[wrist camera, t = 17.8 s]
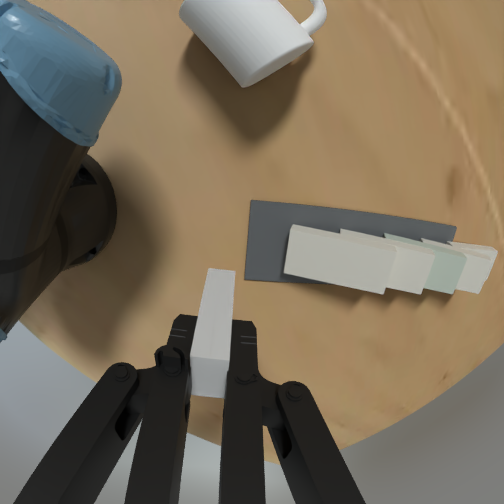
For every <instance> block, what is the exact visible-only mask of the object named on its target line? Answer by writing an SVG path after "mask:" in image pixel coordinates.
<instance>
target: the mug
mask: <svg viewBox="0 0 504 504" xmlns="http://www.w3.org/2000/svg"><path fill="white" fill-rule="evenodd" d="M310 1H311V3H312V4H313V6H314V11H313V13H312V15H311V16H310V17H309V18H308V19H306V20H305V21H304V22H302V23H301V24H299V23H298V22H297V21H296V20H295V19H294V18H293V16H292V15H291V14H290V13H289V12H288V11H287V10H286V9H285V8H284V7H283V6H282V5H281V4H280V2H279V1H278V0H184V1H183V3H182V5H181V7H180V10H179V16H180V19H181V20H182V21H183V22H184V23H185V24H186V25H187V26H188V27H189V28H190V29H191V30H192V31H193V32H194V33H195V34H196V35H197V36H198V38H199V39H200V40H201V41H202V42H203V43H204V44H205V45H206V46H207V47H208V48H209V50H210V51H211V52H212V53H213V54H214V55H215V56H216V57H217V59H218V60H219V61H220V62H221V63H222V64H223V66H224V67H225V68H226V69H227V70H228V71H229V73H230V74H231V75H232V76H233V77H234V79H235V80H236V81H237V82H238V83H239V85H240V86H241V87H248V86H251V85H253V84H255V83H257V82H258V81H260V80H262V79H264V78H265V77H267V76H269V75H270V74H272V73H274V72H275V71H277V70H279V69H280V68H282V67H283V66H285V65H287V64H288V63H290V62H291V61H293V60H294V59H296V58H297V57H299V56H300V55H302V54H303V53H304V52H306V51H307V50H308V49H310V48H311V47H312V46H313V44H314V41H313V40H312V39H311V37H310V35H312V34H313V33H315V32H316V31H317V30H318V29H320V27H321V26H322V25H323V24H324V22H325V20H326V16H327V11H326V7H325V4H324V2H323V0H310Z"/></svg>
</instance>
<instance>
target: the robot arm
mask: <svg viewBox="0 0 504 504" xmlns="http://www.w3.org/2000/svg"><path fill="white" fill-rule="evenodd" d="M121 86H122V77H121V73H120V70H119V68H118V66H117V64H116V63H115V62H114V61H113V59H112V58H111V57H109V56H108V55H107V54H106V53H105V52H104V51H103V50H102V49H100V48H99V47H98V46H97V45H96V44H94V43H93V42H92V41H90V40H89V39H88V38H86V37H85V36H84V35H82V34H81V33H80V32H78V31H77V30H75V29H74V28H73V27H71V26H70V25H68V24H67V23H65V22H64V21H62V20H60V19H59V18H57V17H56V16H54V15H52V14H51V13H49V12H47V11H45V10H43V9H41V8H40V7H37V6H35V5H33V4H30V3H29V2H27V1H26V0H0V342H1V341H2V340H6V338H7V334H8V333H9V331H10V330H11V329H12V327H13V326H14V325H15V324H16V322H17V321H18V320H19V319H20V317H21V316H22V315H23V314H24V313H25V311H26V310H27V309H28V308H29V307H30V305H31V304H32V303H33V302H34V301H35V300H36V299H37V297H38V296H39V295H40V294H41V293H42V292H43V291H44V289H45V288H46V287H47V286H48V285H49V284H50V283H51V282H52V281H53V280H54V279H55V277H56V276H57V275H58V274H59V273H60V272H62V271H64V270H67V269H70V268H73V267H75V266H78V265H81V264H84V263H86V262H88V261H90V260H91V259H93V258H94V257H95V256H97V255H98V254H99V253H100V251H101V250H102V249H103V248H104V247H105V246H106V245H107V244H108V242H109V240H110V239H111V237H112V234H113V232H114V228H115V224H116V214H117V210H116V200H115V195H114V191H113V188H112V185H111V183H110V181H109V179H108V177H107V175H106V173H105V172H104V170H103V169H102V167H101V166H100V165H99V164H98V163H97V162H96V161H95V160H94V159H93V158H92V157H91V156H89V155H88V154H87V152H88V150H89V149H90V147H91V146H94V144H95V143H96V141H97V139H98V137H99V130H100V128H101V126H102V124H103V122H104V120H105V119H106V117H107V115H108V113H109V111H110V110H111V108H112V106H113V104H114V103H115V101H116V99H117V98H118V95H119V93H120V90H121ZM234 282H235V271H230V270H221V269H212V268H209V269H208V273H207V278H206V282H205V287H204V291H203V296H202V300H201V305H200V309H199V314H198V316H191V315H184V314H180V315H179V316H178V317H177V318H176V319H175V320H174V322H173V325H172V329H171V331H170V336H169V338H168V342H167V345H164V346H161V347H160V348H158V349H157V350H156V352H155V354H154V355H155V362H156V366H154V367H152V368H147V369H137V370H136V369H135V368H134V366H132V365H131V364H129V363H125V362H121V363H116V364H113V365H112V366H111V367H109V368H108V370H107V371H106V372H105V373H104V375H103V376H102V377H101V379H100V380H99V381H98V383H97V384H96V385H95V387H94V388H93V389H92V390H91V392H90V393H89V395H88V396H87V397H86V398H85V400H84V401H83V403H82V404H81V405H80V407H79V408H78V409H77V411H76V412H75V413H74V415H73V416H72V418H71V419H70V420H69V422H68V423H67V424H66V426H65V427H64V429H63V430H62V431H61V433H60V434H59V436H58V437H57V439H56V440H55V441H54V443H53V444H52V446H51V447H50V448H49V450H48V451H47V453H46V454H45V456H44V457H43V459H42V460H41V462H40V463H39V465H38V466H37V468H36V469H35V471H34V472H33V474H32V475H31V477H30V478H29V480H28V481H27V483H26V484H25V486H24V487H23V489H22V491H21V493H20V494H19V495H18V497H17V498H16V500H15V502H14V503H13V504H94V502H95V501H96V499H97V497H98V495H99V493H100V492H101V490H102V488H103V486H104V484H105V483H106V481H107V479H108V477H109V476H110V474H111V472H112V471H113V469H114V467H115V465H116V463H117V462H118V460H119V458H120V457H121V455H122V453H123V451H124V449H125V448H126V446H127V444H128V443H129V441H130V439H131V437H132V436H133V434H134V432H135V430H136V429H137V427H138V425H139V423H140V422H141V420H142V423H141V427H140V432H139V436H138V440H137V444H136V449H135V453H134V458H133V462H132V467H131V472H130V477H129V482H128V487H127V492H126V497H125V503H124V504H178V501H179V491H180V482H181V473H182V465H183V457H184V449H185V441H186V433H187V426H188V419H189V412H190V397H191V395H198V396H206V397H215V398H224V409H223V425H222V443H221V462H220V483H219V504H266V501H265V475H264V449H263V425H264V426H267V428H268V431H269V434H270V436H271V439H272V442H273V445H274V448H275V450H276V453H277V456H278V459H279V461H280V464H281V467H282V469H283V472H284V475H285V477H286V480H287V483H288V485H289V488H290V490H291V493H292V496H293V498H294V501H295V503H296V504H366V503H365V501H364V500H363V497H362V495H361V494H360V491H359V490H358V487H357V485H356V483H355V481H354V480H353V477H352V475H351V473H350V471H349V470H348V467H347V465H346V464H345V461H344V459H343V457H342V455H341V453H340V451H339V449H338V447H337V445H336V443H335V441H334V439H333V437H332V435H331V433H330V431H329V429H328V427H327V425H326V423H325V421H324V419H323V417H322V415H321V413H320V411H319V409H318V407H317V404H316V402H315V400H314V398H313V396H312V394H311V392H310V390H309V389H308V388H307V386H305V385H304V384H302V383H300V382H296V381H289V382H286V383H283V384H282V385H279V384H276V383H272V382H270V381H268V380H266V379H265V378H263V377H262V376H261V374H260V373H259V370H258V358H257V333H256V327H255V326H254V324H253V322H252V321H243V320H232V312H233V297H234ZM142 418H143V419H142Z"/></svg>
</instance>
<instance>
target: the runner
mask: <svg viewBox="0 0 504 504" xmlns="http://www.w3.org/2000/svg"><path fill="white" fill-rule="evenodd" d="M293 224H295V225H300V226H305V227H310V228H315V229H320V230H325V231H329V232H334V233H339V234H340V229H345V230H350V231H355V232H359V233H364V234H368V235H373V236H377V237H382V238H383V235H384V233H387V234H391V235H395V236H399V237H404V238H408V239H412V240H416V241H420V239H421V238H423V239H427V240H431V241H435V242H439V243H443V244H446V243H447V241H450V242H452V241H453V238H454V235H455V232H456V229H457V227H456V226H451V225H445V224H440V223H434V222H428V221H422V220H416V219H410V218H404V217H397V216H390V215H383V214H376V213H369V212H362V211H354V210H346V209H338V208H329V207H320V206H311V205H302V204H291V203H281V202H270V201H258V200H251V208H250V219H249V231H248V243H247V255H246V267H245V279H247V280H262V281H278V282H296V283H314V284H332V283H327V282H322V281H318V280H313V279H309V278H304V277H300V276H295V275H291V274H286V273H284V268H285V261H286V255H287V248H288V241H289V235H290V229H291V227H292V225H293ZM335 285H336V284H335Z"/></svg>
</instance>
